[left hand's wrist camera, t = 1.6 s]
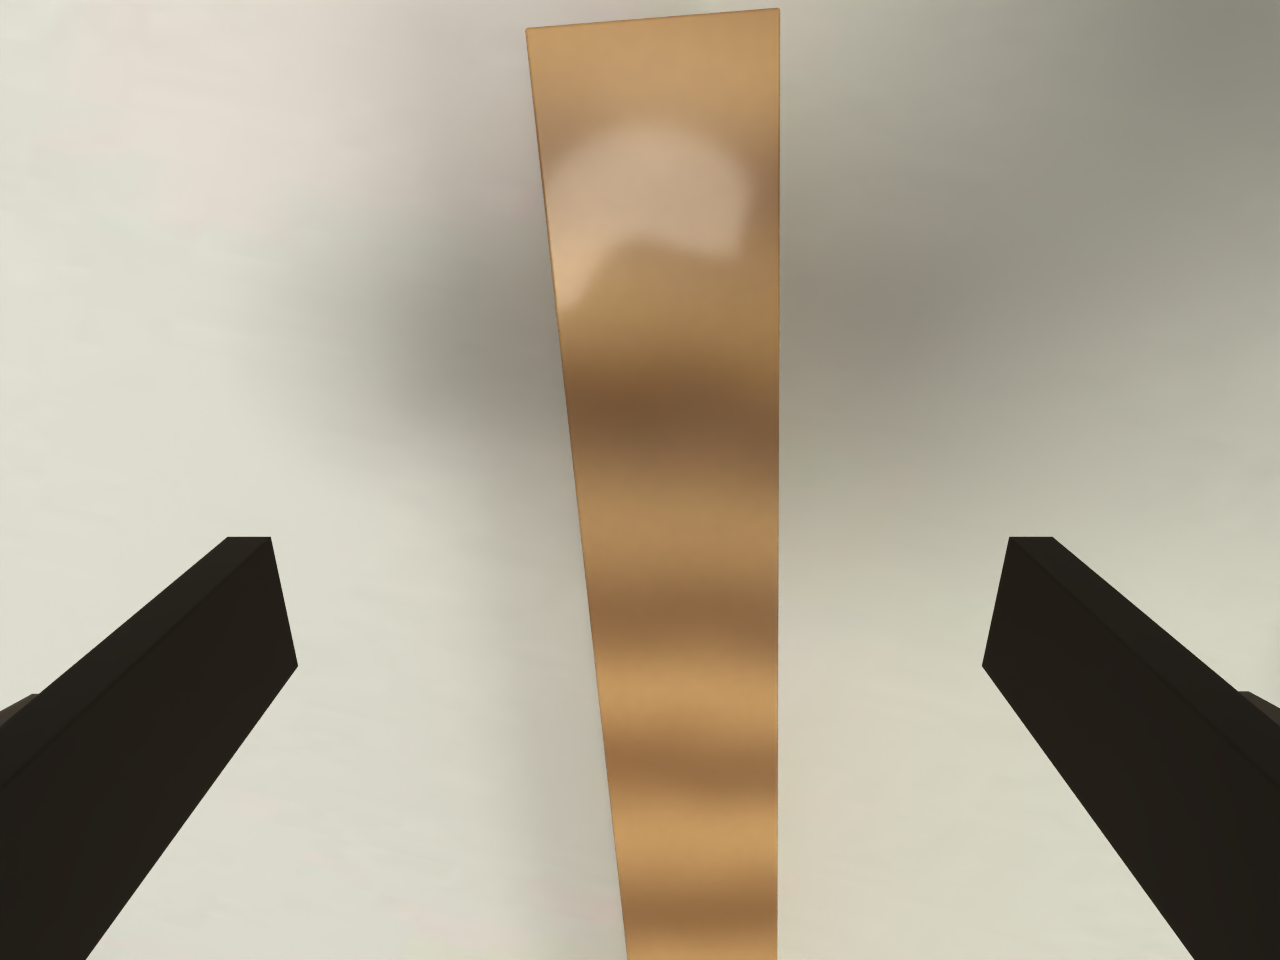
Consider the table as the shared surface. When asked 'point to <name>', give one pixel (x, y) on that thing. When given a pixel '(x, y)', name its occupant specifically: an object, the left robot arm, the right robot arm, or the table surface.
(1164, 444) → the table surface
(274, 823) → the table surface
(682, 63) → the bar
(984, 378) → the table surface
